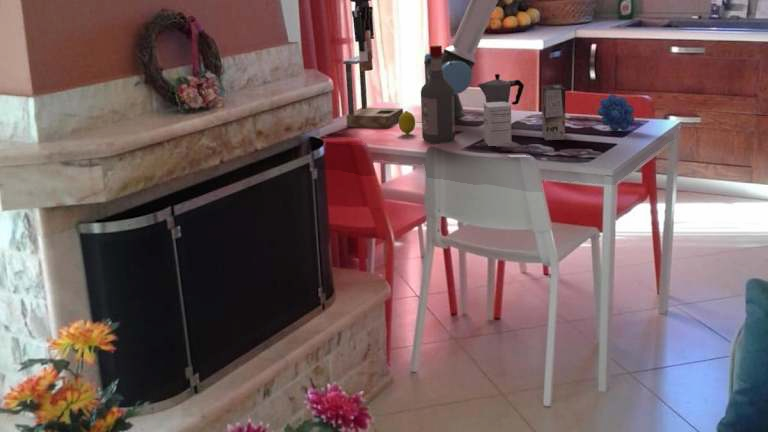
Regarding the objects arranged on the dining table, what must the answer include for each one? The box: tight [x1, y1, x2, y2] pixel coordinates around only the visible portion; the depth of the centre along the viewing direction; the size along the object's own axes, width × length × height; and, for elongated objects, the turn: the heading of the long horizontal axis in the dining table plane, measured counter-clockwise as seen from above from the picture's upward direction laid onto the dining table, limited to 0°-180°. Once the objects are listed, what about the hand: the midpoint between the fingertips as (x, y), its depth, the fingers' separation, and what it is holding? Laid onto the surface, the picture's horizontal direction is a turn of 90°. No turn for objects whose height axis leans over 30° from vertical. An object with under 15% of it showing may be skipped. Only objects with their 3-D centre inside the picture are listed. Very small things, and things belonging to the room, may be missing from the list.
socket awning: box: [342, 54, 404, 129], centre depth 315 cm, size 16×14×23 cm
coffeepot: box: [477, 73, 525, 127], centre depth 299 cm, size 15×9×18 cm, turn 92°
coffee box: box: [541, 83, 566, 141], centre depth 281 cm, size 9×6×16 cm
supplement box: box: [483, 102, 512, 147], centre depth 277 cm, size 7×7×13 cm
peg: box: [360, 30, 374, 72], centre depth 299 cm, size 4×4×13 cm
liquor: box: [420, 45, 456, 144], centre depth 283 cm, size 9×9×30 cm
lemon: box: [398, 110, 416, 135], centre depth 296 cm, size 6×6×8 cm
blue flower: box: [596, 93, 635, 132], centre depth 284 cm, size 12×7×12 cm, turn 72°
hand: (366, 59), depth 300 cm, fingers closed on peg, 4 cm apart
